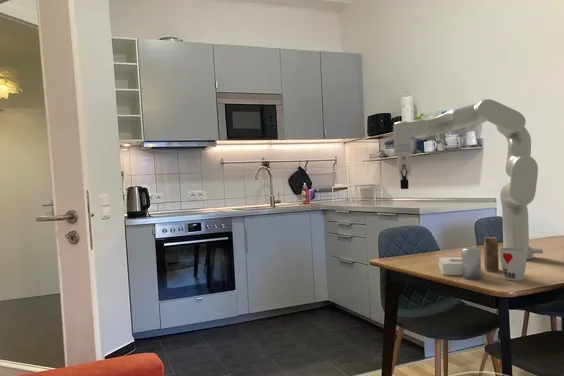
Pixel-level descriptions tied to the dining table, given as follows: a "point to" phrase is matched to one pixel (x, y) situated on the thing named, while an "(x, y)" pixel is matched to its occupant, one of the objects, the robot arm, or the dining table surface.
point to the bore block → (450, 266)
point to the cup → (513, 262)
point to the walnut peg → (491, 254)
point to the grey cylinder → (471, 263)
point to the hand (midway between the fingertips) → (404, 188)
